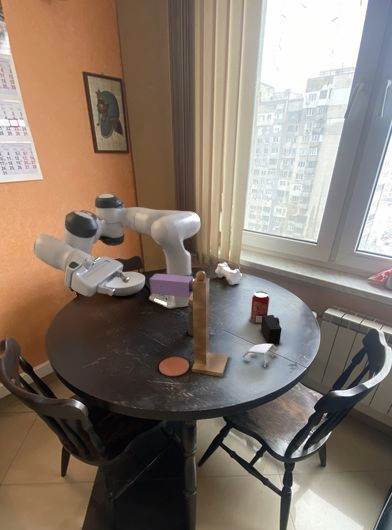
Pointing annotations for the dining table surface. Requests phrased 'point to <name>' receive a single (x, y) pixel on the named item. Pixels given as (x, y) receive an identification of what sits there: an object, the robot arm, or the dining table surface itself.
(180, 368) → the coaster
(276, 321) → the digital camera
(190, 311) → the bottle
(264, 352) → the white small piece
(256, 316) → the soda can
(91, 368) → the dining table surface
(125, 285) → the serving bowl
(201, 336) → the cup stand
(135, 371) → the dining table surface
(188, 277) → the purple block
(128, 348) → the dining table surface
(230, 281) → the bone shaped toy
